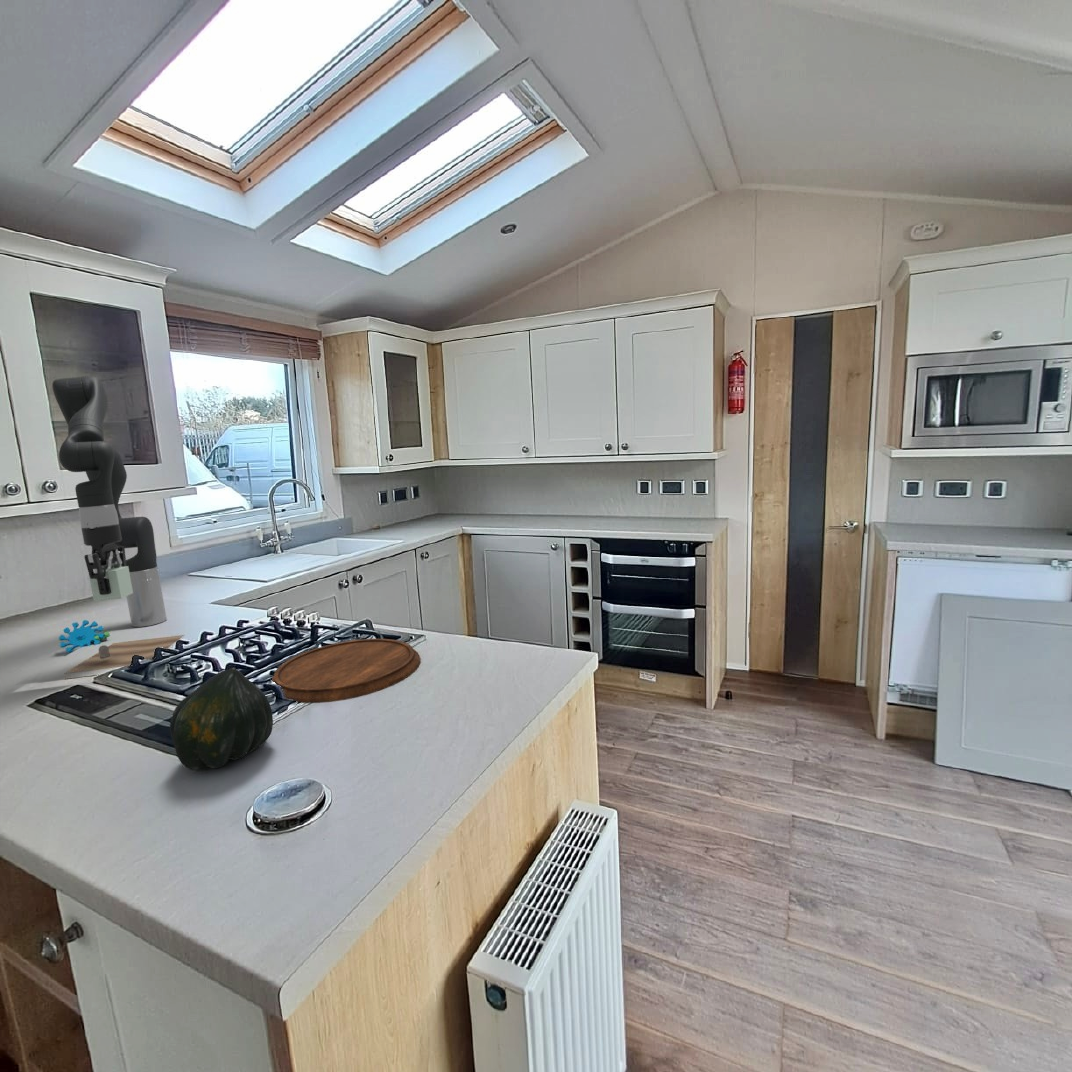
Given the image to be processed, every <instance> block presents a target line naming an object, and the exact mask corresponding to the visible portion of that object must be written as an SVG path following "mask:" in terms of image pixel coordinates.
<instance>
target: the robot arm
mask: <svg viewBox="0 0 1072 1072" xmlns="http://www.w3.org/2000/svg"><path fill="white" fill-rule="evenodd" d="M52 392H53V396H54V398H55V400H56V402H57V405H58V406H59V408H60V411H61V414H62V415H63V418H64V421H65V422H66V424H67V427H68V428H67V435H68V436H67V437H66V438H65V439H64V440H63V442H62V444H61V446H60V447H59V451H58V460H59V463H60V465H61V467H63V468H64V469H65V470H67V471H68V472H71V473H83V472H84V473H85V474H86V477H87V478H88V480H86V481H83V482H79V483H77V484H76V485H75V495H76V501H77V506H78V519H79V523H80V528H81V534H82V539H83V544H84V546H90V547H91V553H90V554H85V555H84V556H83V557H84V560H85V561H84V562H85V565H86V568H87V572H88V576H90V578H91V579H95V580H97V582H98V587H99V593H100V594H101V595H106V594H110V593H111V588H110V583H109V579H108V571H109V570H110V569H111V568H116V567H117V568H118V567H126V566H128V568H129V573H130V579H131V584H132V590H133V593H132V594H130V595H128V596H126V597H125V598H126V600H127V601H126V602H127V607H128V612H129V617H130V622H131V627H135V628H140V627H149V626H153V625H156V624H161V623H163V622H165V621H167V620H168V619H167V613H166V607H165V601H164V597H163V596H164V595H163V591H162V585H161V580H160V575H159V568H158V564H157V549H156V542H155V541H156V540H155V533H154V528H153V524H152V522H151V520H150V519H149V518H148V517H146V516H133V517H122V516H121V513H120V509H119V504H120V503H119V501H120V498H121V495H122V493H123V491H124V488H125V485H126V482H127V478H128V477H127V476H128V475H127V471H126V468H125V465H124V462H123V459H122V457H121V454H120V453H119V451H117V449H116V448H115V447H113V446H112V445H111V444H110V443H108V442H107V441H105V439H104V426H103V425H104V420H105V417H106V413H107V410H108V409H107V408H108V405H109V404H108V402H109V401H108V397H107V395H108V394H107V392H106V389H105V386H104V384H103V383H102V381H101V380H100V379H99V378H98V377H96V376H91V375H90V376H89V375H87V376H86V375H85V376H75V377H73V376H72V377H64V378H58V379H54V380H53V382H52ZM133 548H134V549H135V548H137V551H136V554H135V555H133V556H132V557H130V558H128V559H127V557H126V549H133ZM103 570H104V574H103ZM94 571H95V573H94ZM90 578H89V579H90Z"/></svg>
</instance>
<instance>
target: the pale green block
mask: <svg viewBox="0 0 1072 1072" xmlns="http://www.w3.org/2000/svg"><path fill="white" fill-rule="evenodd" d="M93 571H94V573H95V570H93ZM103 574H104V570H103ZM88 576H89V575H88ZM108 579H109V583H110V588H111V593H110V594H106V595H101V594H100V593H99V587H98V582H97V580H95V579H91V578H90V576H89V582H90V588H91V592H92V599H93V602H102V601H110V600H111V601H112V600H120V599H124V598H127V597H126V596H128V595H130V594H132V593H133V590H132V584H131V579H130V573H129V568H128V566H126V567H118V568H117V567H116V568H111V569H110V570H109V571H108Z"/></svg>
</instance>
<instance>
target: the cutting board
mask: <svg viewBox="0 0 1072 1072" xmlns="http://www.w3.org/2000/svg"><path fill="white" fill-rule="evenodd" d="M420 664H421V656H420V654H419V652H418V651H417V650H415V649H414V647H413V646H411V645H410V643H407V642H405V641H402V640H398V639H390V638H389V639H388V638H364V639H354V640H352V639H351V640H347V641H342V642H341V641H340V642H336V643H332V644H327V645H324V646H319V647H316V648H313V649H310V650H307V651H305V652H302V653H300V654H297V655H296V656H293V657H292V658H290V659H288V660H286V661H285V662H283V663H281V665H280V666H278V667H277V668H276V670H275V671H274V674H273V675H274V676H273V675H272V677H271V678H272V681H273V682H275V683H276V684H277V685H280V686H281V687H282V689H283V692H284V696H285V697H286V698H288V699H293V700H295V701H297V702H296V703H307V704H309V703H327V702H336V701H341V700H343V701H344V700H348V699H352V698H358V697H361V696H366V695H368V694H369V695H370V694H372V693H375V692H378V691H381V690H384V689H387V688H389V687H392V686H394V685H396V684H398V683H399V682H401V681H403V680H405V679H407V678H408V677H410V676H411V675H412V674H413V673H414V672H416V670H417V669H418V667H419V666H420Z"/></svg>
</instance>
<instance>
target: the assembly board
mask: <svg viewBox="0 0 1072 1072" xmlns="http://www.w3.org/2000/svg"><path fill="white" fill-rule="evenodd" d="M184 636H185V634H182V635H172V636H164V637H154V638H147V639H140V640H139V639H138V640H130V641H122V642H121V641H120V642H113V643H112V644H110V645H109V646H108V645H103V644H102V645H100V646H99V648H98V652H96V653H95V654H94V655H92V656H90V657H89V658H87V659H86V660H83V661H82V662H80V663H79V664H77V665H76V666H73V667H72V668H71V669H69V670H67V671H66V672H64V674H73V673H80V672H90V671H97V670H104V669H106V670H107V669H113V668H121V667H130V664H131V661H132V656H134V655H139V656H143V657H144V658H145V659H152V657H153V656H154V650H155V649H156V648H157V647H163V648H164V649H166V650H167V649H168V648H170V647H171V646H173V645H174V644H175V643H176V642H178V641H179V640H180V639H182V638H183V637H184ZM97 675H98V674H94V675H84V676H77V677H76V676H75V677H70V678H69V677H68V678H65V679H64V680H71V679H73V680H74V679H80V678H81V679H82V678H89V677H96V676H97Z"/></svg>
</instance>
